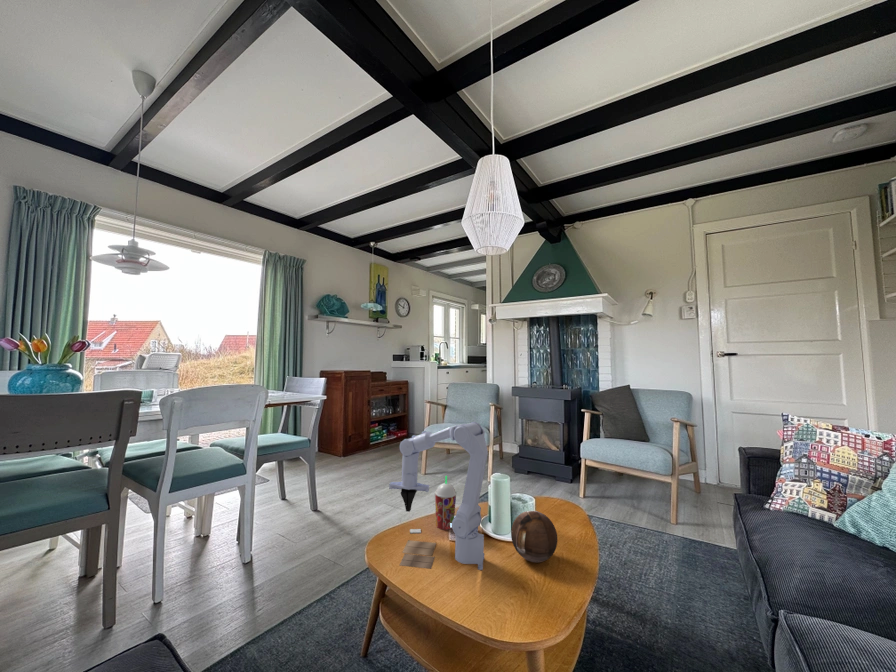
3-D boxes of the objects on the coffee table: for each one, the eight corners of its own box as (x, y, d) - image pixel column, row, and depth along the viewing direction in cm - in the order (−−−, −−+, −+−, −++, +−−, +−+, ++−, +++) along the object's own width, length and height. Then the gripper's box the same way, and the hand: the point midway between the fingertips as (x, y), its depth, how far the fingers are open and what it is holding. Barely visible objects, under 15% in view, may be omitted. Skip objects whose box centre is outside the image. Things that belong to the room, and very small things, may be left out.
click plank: (436, 546, 123) (436, 542, 123) (432, 559, 115) (432, 555, 115) (408, 543, 124) (408, 540, 124) (402, 556, 116) (402, 552, 116)
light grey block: (420, 534, 132) (420, 528, 132) (420, 537, 130) (420, 532, 130) (409, 534, 132) (409, 529, 132) (409, 538, 130) (410, 532, 130)
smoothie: (455, 534, 132) (457, 480, 134) (433, 534, 132) (434, 479, 134) (455, 524, 141) (456, 473, 142) (434, 523, 141) (436, 472, 142)
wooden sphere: (539, 544, 127) (540, 501, 128) (567, 567, 113) (567, 519, 114) (502, 551, 122) (503, 506, 123) (526, 576, 108) (527, 525, 109)
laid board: (434, 561, 114) (434, 556, 114) (431, 573, 108) (431, 568, 108) (404, 558, 116) (404, 553, 116) (399, 570, 109) (399, 565, 109)
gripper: (431, 470, 132) (430, 507, 131) (393, 467, 134) (392, 504, 133) (427, 475, 125) (426, 515, 124) (388, 473, 127) (386, 512, 126)
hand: (408, 510), depth 128 cm, fingers closed
